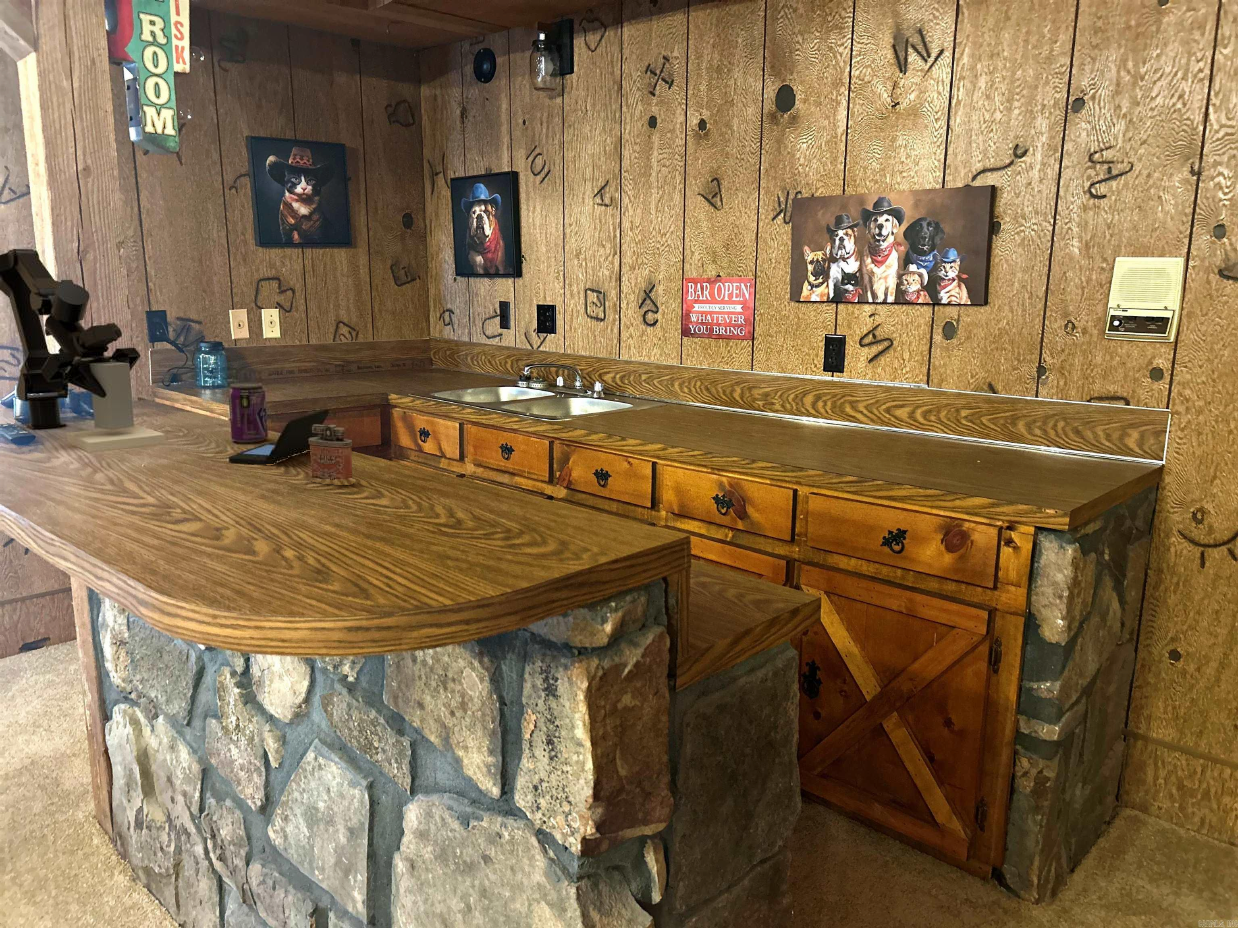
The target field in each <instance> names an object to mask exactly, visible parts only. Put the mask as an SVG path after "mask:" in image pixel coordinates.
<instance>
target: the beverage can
mask: <svg viewBox="0 0 1238 928" xmlns="http://www.w3.org/2000/svg"><path fill="white" fill-rule="evenodd" d="M229 386H230V389H229V391H228V408H229V419H230V421H229V422H230V434H231V435H230V436H231V439H232V440H233V441H235V442H236V443H239V444H255V443H260V442H263V441H264V440H266V439H268V437H269V434H268V433H269V431H268V430H269V429H268V418H267V402H266V398H267V397H266V391H265V390H264V389H263V383H260V382H238V383H237V382H236V383H231V384H230V385H229Z"/></svg>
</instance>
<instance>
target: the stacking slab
mask: <svg viewBox="0 0 1238 928" xmlns="http://www.w3.org/2000/svg"><path fill="white" fill-rule="evenodd" d="M166 440H167V439H166V434H165V433H163V432H159V431H156V430H153V429H150V428H148V427H145V426H142V425H134V427H129V428H122V429H116V430H108V429H101V428H99V429H93V430H90V429H89V430H83V431H72V432H66V441H67V443H68V444H70V445H73V446H75V447H77V448H79V449H80V450H84V451H85V452H88V453H90V454H92V453H99V452H108V451H116V450H125V449H132V448H141V447H151V446H158V445H166V444H167V441H166Z"/></svg>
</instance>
